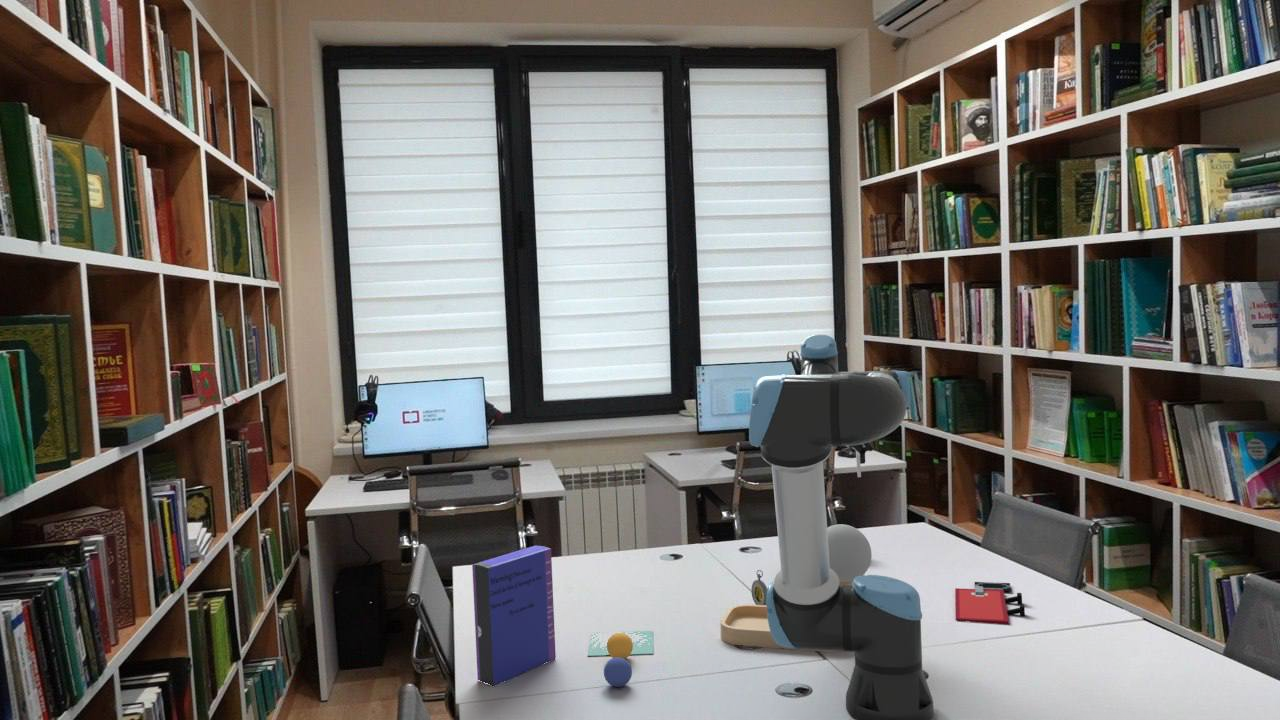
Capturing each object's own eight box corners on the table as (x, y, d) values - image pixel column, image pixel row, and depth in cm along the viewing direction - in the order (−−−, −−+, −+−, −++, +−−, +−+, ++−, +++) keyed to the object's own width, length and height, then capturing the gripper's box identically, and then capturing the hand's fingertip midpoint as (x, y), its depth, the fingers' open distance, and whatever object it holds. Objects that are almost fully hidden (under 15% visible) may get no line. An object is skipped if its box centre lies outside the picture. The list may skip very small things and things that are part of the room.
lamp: (716, 644, 201) (712, 530, 200) (732, 618, 218) (728, 512, 216) (872, 655, 191) (869, 535, 190) (876, 627, 208) (873, 517, 206)
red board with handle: (1017, 587, 234) (955, 584, 238) (1017, 576, 233) (954, 574, 238) (1026, 628, 205) (955, 624, 210) (1026, 616, 205) (955, 612, 210)
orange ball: (633, 663, 192) (632, 637, 191) (606, 664, 192) (605, 638, 191) (633, 653, 197) (632, 628, 197) (607, 654, 197) (606, 629, 197)
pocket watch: (729, 616, 219) (728, 574, 219) (744, 605, 226) (743, 565, 226) (761, 621, 215) (759, 578, 214) (775, 610, 222) (774, 569, 221)
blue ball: (632, 691, 178) (631, 663, 177) (603, 692, 178) (602, 664, 177) (632, 679, 183) (631, 652, 183) (604, 680, 183) (603, 653, 183)
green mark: (653, 654, 196) (653, 653, 196) (587, 656, 196) (587, 655, 196) (652, 631, 210) (652, 630, 210) (591, 633, 210) (591, 632, 210)
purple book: (539, 654, 199) (535, 544, 198) (555, 659, 196) (550, 547, 195) (477, 681, 185) (472, 563, 184) (493, 686, 182) (488, 567, 181)
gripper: (879, 386, 202) (882, 461, 213) (765, 394, 207) (774, 467, 218) (883, 406, 196) (886, 482, 207) (765, 414, 201) (774, 488, 212)
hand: (828, 475), depth 213 cm, fingers open, 13 cm apart
